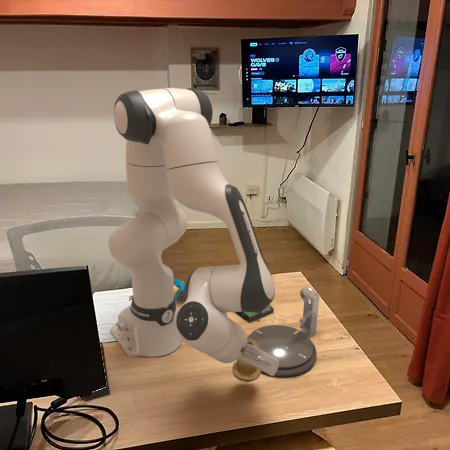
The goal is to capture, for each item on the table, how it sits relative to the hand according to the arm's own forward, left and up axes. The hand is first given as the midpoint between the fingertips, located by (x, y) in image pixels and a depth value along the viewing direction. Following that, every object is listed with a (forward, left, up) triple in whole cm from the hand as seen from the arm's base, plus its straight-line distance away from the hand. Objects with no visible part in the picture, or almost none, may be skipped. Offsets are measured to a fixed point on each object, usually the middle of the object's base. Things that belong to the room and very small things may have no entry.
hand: (248, 355), depth 108 cm
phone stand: (-27, -26, -10) cm, 39 cm away
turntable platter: (-3, +17, -8) cm, 19 cm away
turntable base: (-3, +17, -10) cm, 20 cm away
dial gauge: (-3, +29, -10) cm, 31 cm away
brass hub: (0, -1, -4) cm, 4 cm away
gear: (-44, +17, -10) cm, 48 cm away
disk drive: (-25, +28, -11) cm, 39 cm away
